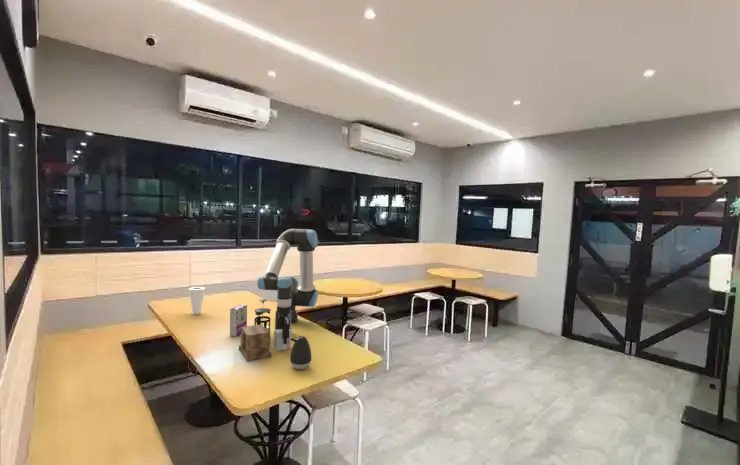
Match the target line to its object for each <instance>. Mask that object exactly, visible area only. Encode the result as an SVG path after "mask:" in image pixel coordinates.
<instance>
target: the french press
mask: <svg viewBox="0 0 740 465" xmlns="http://www.w3.org/2000/svg"><path fill="white" fill-rule="evenodd" d="M258 301H259V302H261V303H262V304H264V303H265V302H267V301H268V300H267V299H265V298H264V299H260V300H258ZM271 310H272V309H270V308H267V307H261V308H256V309H255V310H254V312H255V315H256V317H254V319H253V320H254V323H253V324H254V325H263V326H264V327H265V328H266V329H267V330H268V331H269V332H270V333H271V317H270V316H267V315H264V314H265V313H267V314H269V315H270V313H271ZM261 315H262V316H261ZM264 319H265V320H264ZM254 325H253V326H254Z"/></svg>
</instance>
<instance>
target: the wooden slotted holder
mask: <svg viewBox="0 0 740 465" xmlns="http://www.w3.org/2000/svg"><path fill="white" fill-rule="evenodd" d="M270 347H271V331H270V332H269V331H268V330H267V329H266V328H265V327H264V324H263V325H262V324H261V325H257V324H256V325H247V327H241V335H240V345H238V351H239V352H240V354H241V355H242V356H243V357H244V359H245V361H246V362H252V361H257V360H262V359H263V360H265V359H267V358H272V352H271V350H270Z"/></svg>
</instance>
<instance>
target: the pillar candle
mask: <svg viewBox="0 0 740 465" xmlns="http://www.w3.org/2000/svg"><path fill="white" fill-rule="evenodd" d="M291 314H292V311H291V313H289V314H288V320H290V325H289V329H290V330H292V323H291ZM277 315H278V313H277V310H275V317H274V322H275V324H274V330H277V322H278V317H277Z"/></svg>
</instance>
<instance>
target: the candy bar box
mask: <svg viewBox="0 0 740 465" xmlns="http://www.w3.org/2000/svg"><path fill="white" fill-rule="evenodd" d="M247 323H248V304H237V305H236V306H234V307H232V308H229V336H230V337H238V336H241V327H247V326H248V324H247Z"/></svg>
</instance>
